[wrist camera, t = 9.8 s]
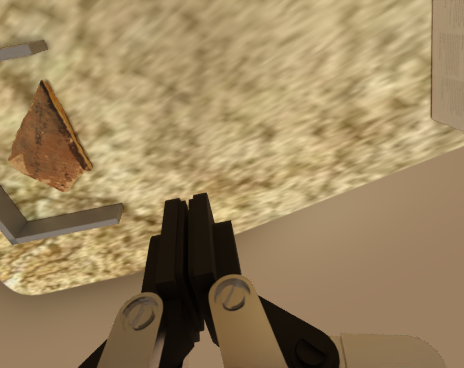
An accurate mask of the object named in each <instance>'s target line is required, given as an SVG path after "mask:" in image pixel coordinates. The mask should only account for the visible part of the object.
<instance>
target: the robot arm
mask: <svg viewBox="0 0 464 368" xmlns="http://www.w3.org/2000/svg"><path fill="white" fill-rule="evenodd" d="M204 320H205V322H206V325H207V328H208V330H209V333H210V336H211V338H212V341H213V342H214V343H215V344H216V345H217V346H218V347H220V351H221V355H222V359H223V364H224V368H447V367H446V365H445V363H444V360H443V359H442V357H441V356H440V354H439V353H438V351H437V350H436V349H435V348H434V347H432V346H431V345H430V344H429V343H428V342H426V341H423V340H422V339H420V338H417V337H413V336H406V335H378V334H348V333H341V336H327V335H326V334H325V333H324V332H322V331H320V330H319V329H317V328H315V327H313V326H312V325H310V324H308V323H306V322H305V321H303V320H301V319H299V318H297V317H296V316H294V315H292V314H290V313H288V312H287V311H285V310H283V309H282V308H279V307H278V306H276V305H274V304H273V303H271V302H269V301H267V300H265V299H264V298H262V297H260V296H258V295H257V292H256V290H255V287H254V286H253V284H252V282H251V281H250V280H249V279H248V278H246V277H244V276H242V275H241V269H240V264H239V258H238V253H237V248H236V243H235V238H234V233H233V228H232V223H231V220H230V221H225V222H220V223H215V222H214V218H213V215H212V211H211V207H210V203H209V199H208V195H207V193H201V194H196V195H193V199H189V210H188V207H187V204H186V201H181V200H180V198H176V199H171V200H167V201H165V207H164V214H163V222H162V230H161V235H156V236H152V237H151V239H150V244H149V250H148V256H147V261H146V267H145V273H144V279H143V285H142V291H141V293H140V294H137V295H135V296H134V297H132V298H130V299H129V300H128V301H126V302H125V303H124V305H123V306H122V307H121V308H120V310H119V312H118V314H117V316H116V319H115V322H114V324H113V327H112V329H111V332H110V335H109V337H108V339H107V340H106V341H105V342H104V343H103V344H102V345H101V346H100V347H98V348H97V349H96V350H95V351H94V352H93V353H92V354H91V355H90V356H89V357H88V358H87V359H86V360H85V361H84V362H83V363H82V364H81V365H80V366H79V367H78V368H188V361H189V358H188V354H189V352H190V351H191V350H192V349H193V347H194V342H199V341H200V335H199V332H200V331H204Z"/></svg>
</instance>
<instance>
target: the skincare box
mask: <svg viewBox="0 0 464 368" xmlns="http://www.w3.org/2000/svg"><path fill="white" fill-rule="evenodd" d="M432 119H433V120H435V121H438V122H441V123H443V124H446V125H448V126H451V127H453V128H455V129H458V130H460V131H462V132H464V0H433V31H432Z"/></svg>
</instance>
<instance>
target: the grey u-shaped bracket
mask: <svg viewBox="0 0 464 368" xmlns="http://www.w3.org/2000/svg"><path fill="white" fill-rule="evenodd" d="M45 50H48V48H47V46H46V44H45V42H44V40H41V41H35V42H30V43H25V44H19V45H14V46H9V47H4V48H0V61H2V60H8V59H13V58H18V57H23V56H29V55H33V54H36V53H39V52H42V51H45ZM123 209H124V208H123V205H122V203H120V204H115V205H110V206H105V207H100V208H95V209H90V210H85V211H80V212H75V213H70V214H65V215H60V216H55V217H50V218H45V219H40V220H35V221H30V222H27V221H26V219H25V218H24V217H23V215H22V214H21V213H20V211H19V210H18V209H17V207H16V206H15V205H14V203H13V202H12V201H11V199H10V198H9V197H8V195H7V194H6V193H5V191H4V190H3V189H2V187H1V186H0V231H1V232H2V233H3V234H4V235H5V237H6V238H7V239H8V240H9V241H10V243H11V244H12V245H15V244H19V243H24V242H29V241H34V240H39V239H44V238H49V237H54V236H59V235H64V234H69V233H74V232H79V231H84V230H89V229H94V228H99V227H104V226H109V225H114V224H119V221H120V218H121V215H122V212H123Z"/></svg>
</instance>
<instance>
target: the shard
mask: <svg viewBox="0 0 464 368" xmlns="http://www.w3.org/2000/svg"><path fill="white" fill-rule="evenodd" d="M8 163H9V164H10V165H11V166H12V167H14V168H16V169H17V170H19V171H20V172H21V173H23V174H25V175H27V176H29V177H31V178H33V179H36V180H39V181H41V182H43V183H45V184H47V185H50V186H52V187H54V188H56V189H58V190H60V191H62V192H68V191H69V190H70V188H71V186H72V185H73V184H74V182H75V181H76V180H77V178H79V177H80V176H81V175H82V174H83V173H85V172H87V171H91V170H92V165H91V163H90V162H89V161H88V159H87V158H86V156H85V155H84V153H83V150H82V148H81V147H80V146H79V144H78V143H77V141H76V139H75V136H74V133H73V130H72V128H71V126H70V124H69V122H68V120H67V117H66V115H65V113H64V112H63V109H62V107H61V105H60V103H59V101H58V100H57V98H56V97H55V96H54V94H53V92H52V90H51V89H50V88H49V86H48V85H47V84H46V83H45V82H44V81H43V80H41V81H40V84H39V86H38V89H37V91H36V93H35V95H34V99H33V103H32V104H31V107H30V109H29V111H28V113H27V115H26V116H25V118H24V119H23V121H22V124H21V126H20V129H19V130H18V131H17V134H16V138H15V140H14V141H13V145H12V148H11V155H10V156H9V158H8Z"/></svg>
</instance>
